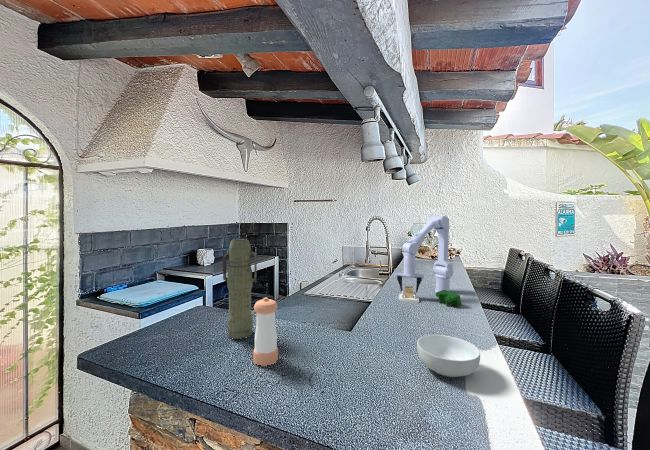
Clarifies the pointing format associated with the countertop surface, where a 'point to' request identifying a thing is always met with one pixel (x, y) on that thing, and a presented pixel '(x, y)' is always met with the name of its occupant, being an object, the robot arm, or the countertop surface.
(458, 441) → the countertop surface
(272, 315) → the pepper shaker
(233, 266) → the thermos
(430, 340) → the cereal bowl
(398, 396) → the countertop surface
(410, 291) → the block
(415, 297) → the plate
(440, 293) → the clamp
